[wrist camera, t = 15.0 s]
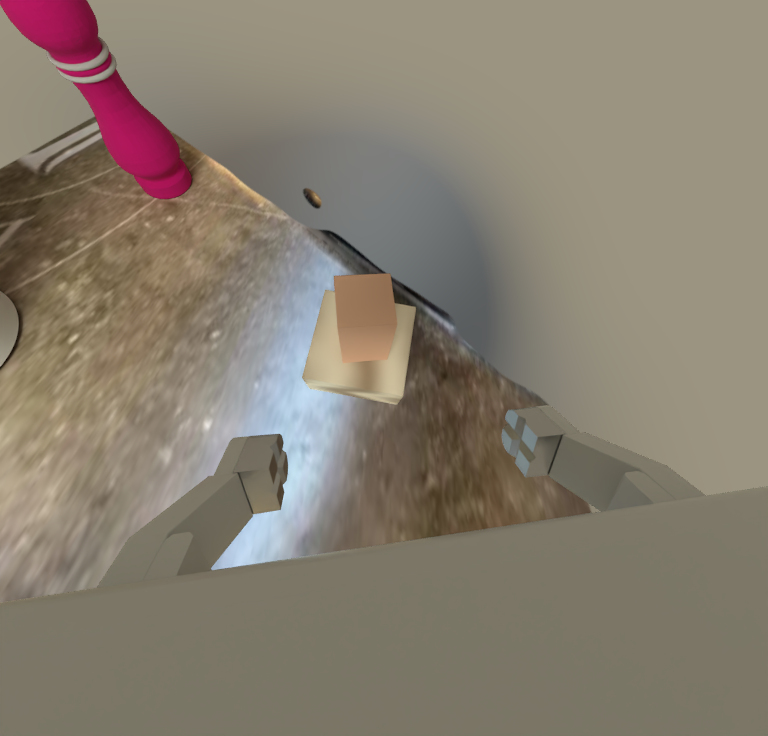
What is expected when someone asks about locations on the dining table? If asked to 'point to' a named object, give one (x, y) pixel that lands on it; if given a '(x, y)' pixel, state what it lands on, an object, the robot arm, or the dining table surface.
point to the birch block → (358, 377)
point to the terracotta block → (365, 316)
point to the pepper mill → (103, 91)
